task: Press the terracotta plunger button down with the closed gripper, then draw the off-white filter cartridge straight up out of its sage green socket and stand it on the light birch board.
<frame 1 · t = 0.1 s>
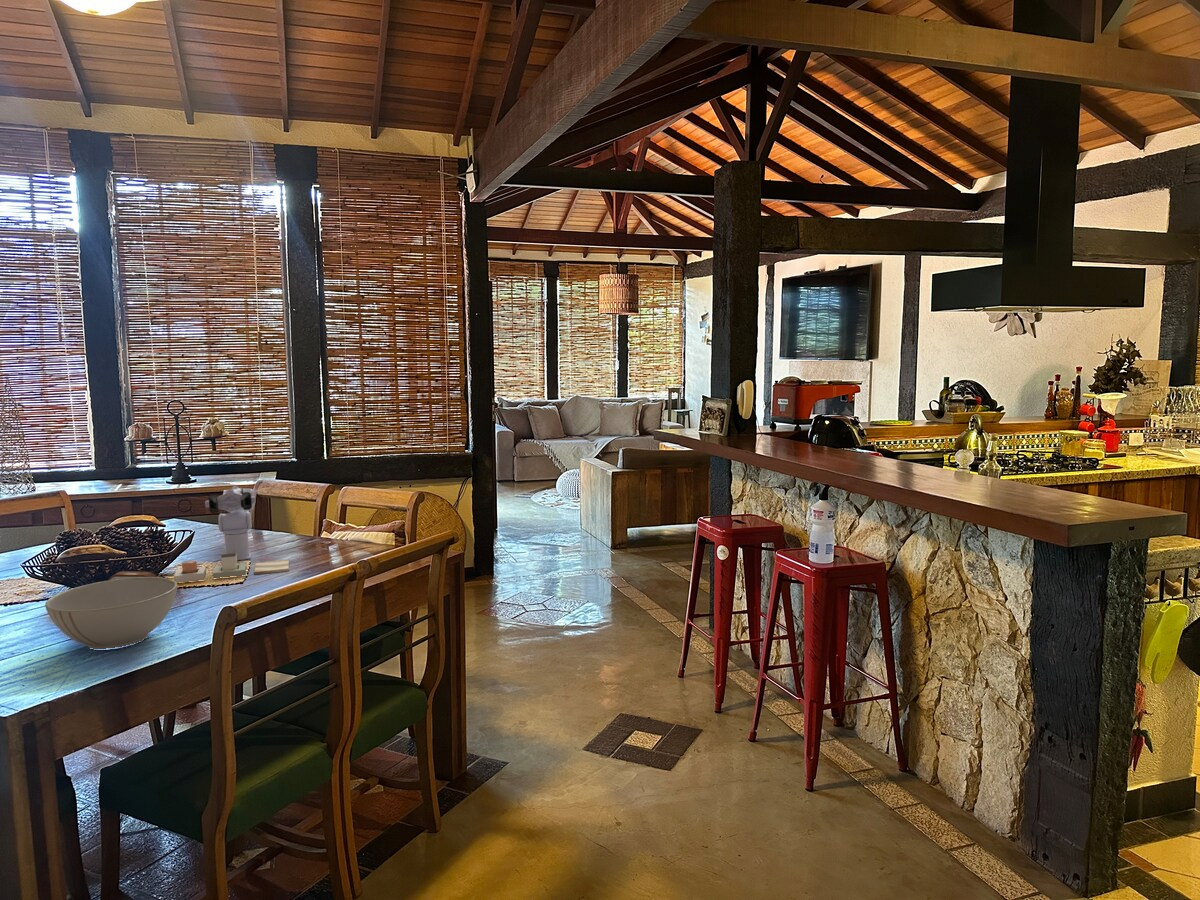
hand: (228, 504, 247), 22 cm above the table, tool horizontal, fingers open, 7 cm apart
decorative bowl: (118, 642, 190), on the table
plunger housing: (190, 579, 242), on the table
cartridge: (229, 563, 247), in the socket
plunger button: (189, 567, 242), point 4 cm above the table, slide at 0.0 cm
birch board: (272, 568, 253), on the table
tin: (135, 602, 221), on the table
socket: (230, 574, 247), on the table
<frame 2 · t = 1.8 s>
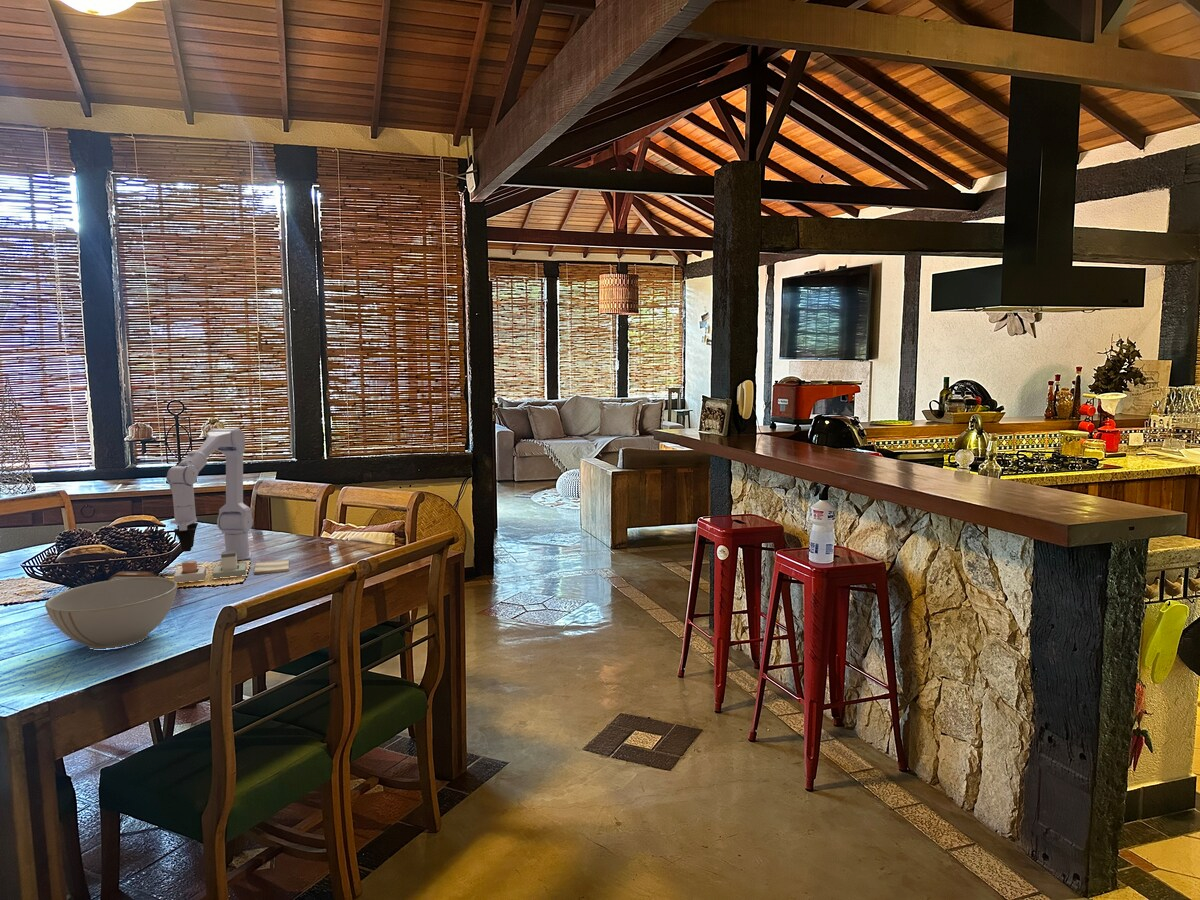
hand: (188, 549, 241), 9 cm above the table, tool pointing down, fingers open, 5 cm apart
nothing on the table moved.
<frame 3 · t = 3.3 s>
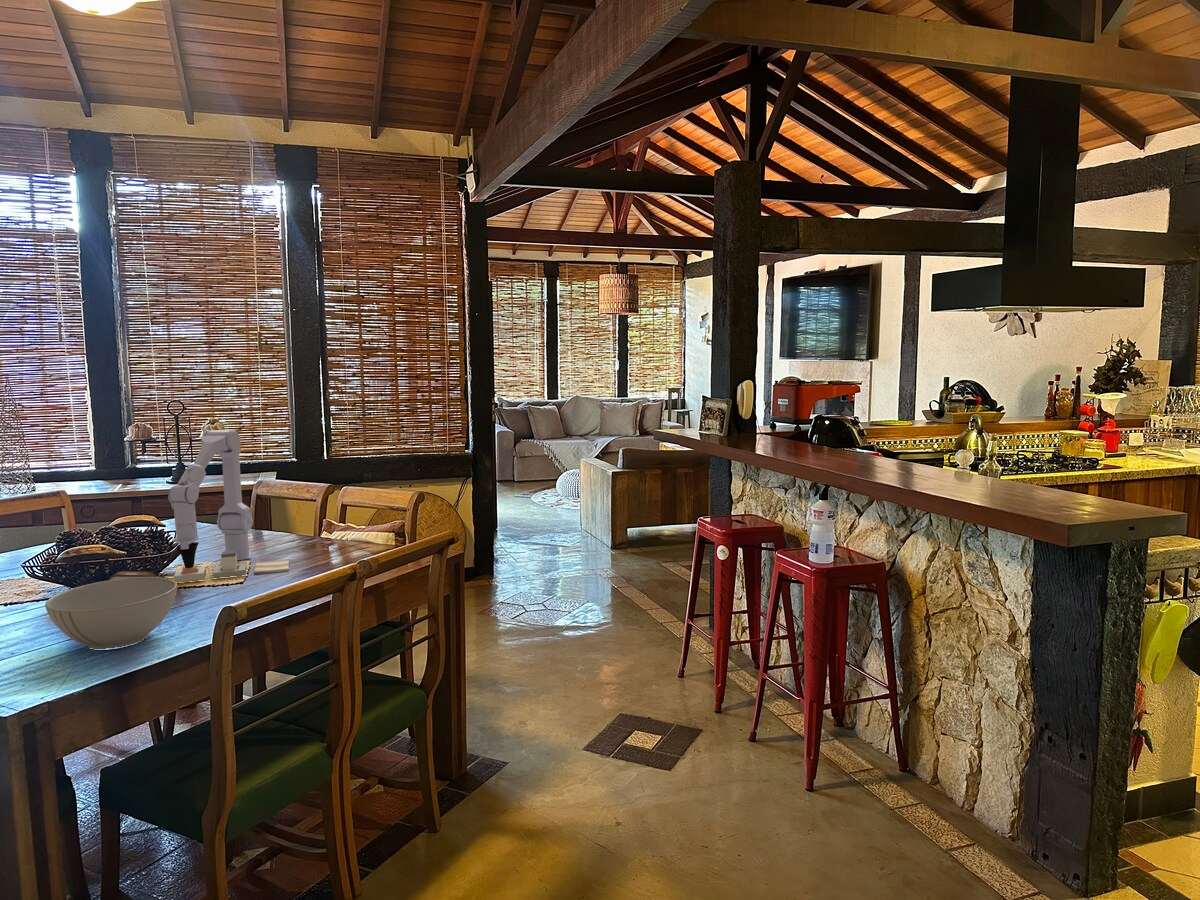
hand: (189, 567, 242), 4 cm above the table, tool pointing down, fingers closed, pressing on plunger button
plunger button: (190, 572, 242), point 2 cm above the table, slide at 1.5 cm, touching gripper
everything else where it was.
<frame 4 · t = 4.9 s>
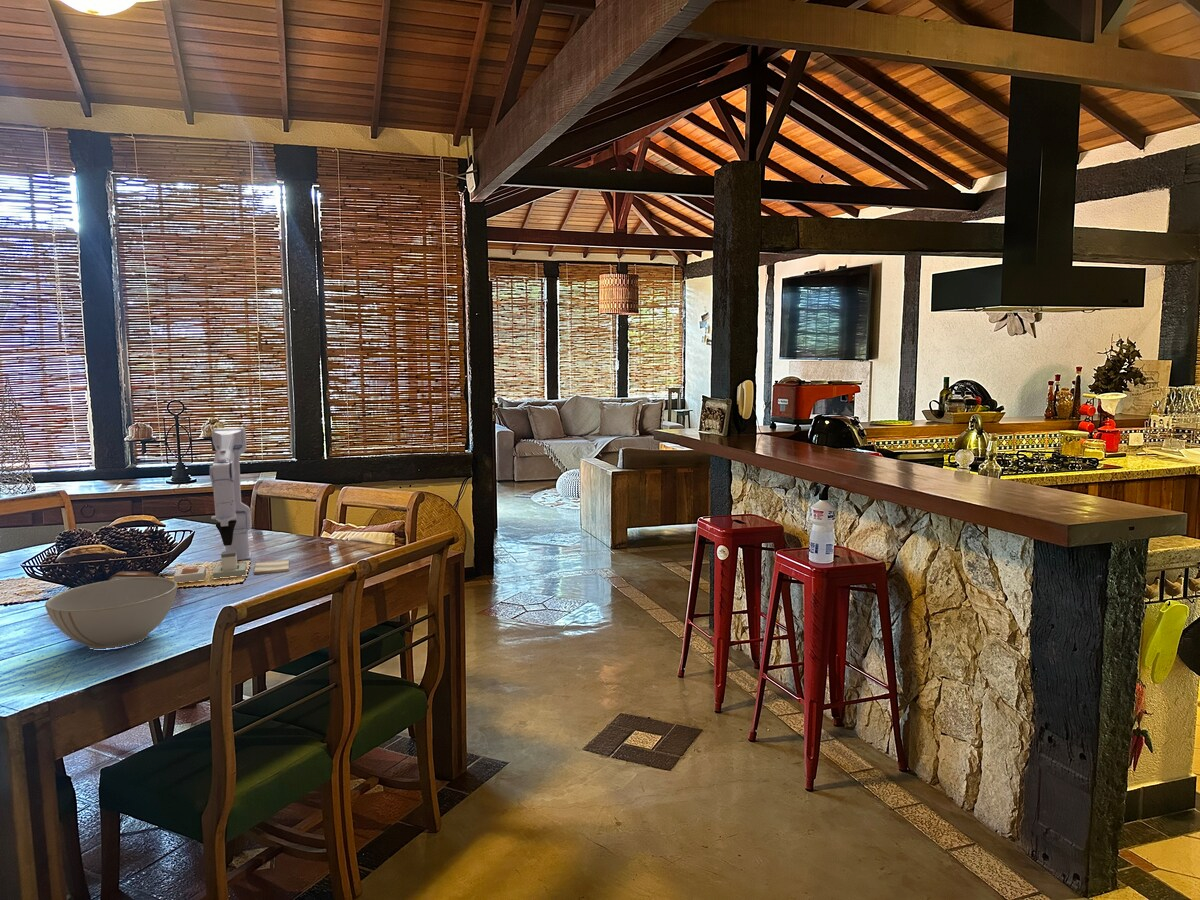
hand: (228, 544, 246), 9 cm above the table, tool pointing down, fingers closed
plunger button: (190, 573, 242), point 2 cm above the table, slide at 1.8 cm
everything else where it was.
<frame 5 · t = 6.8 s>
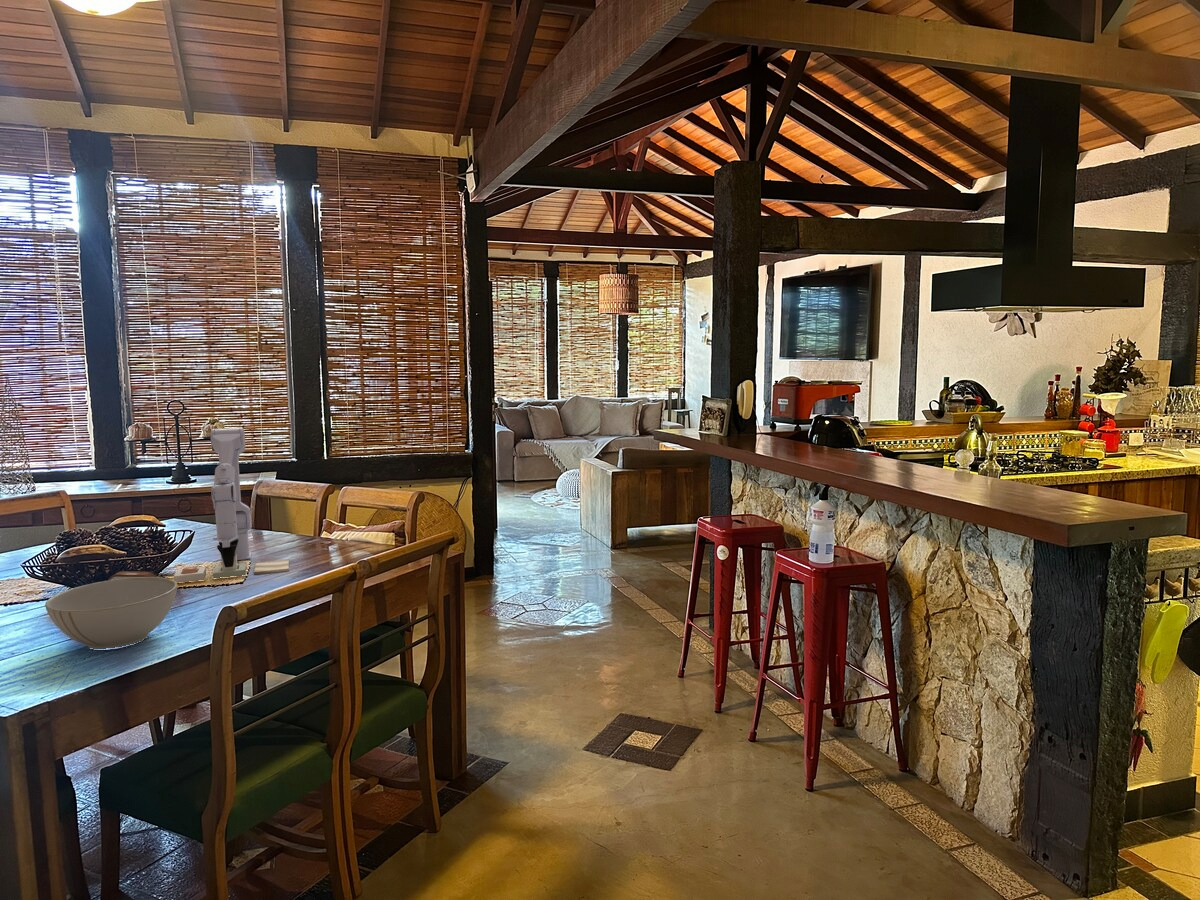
hand: (229, 565, 247), 3 cm above the table, tool pointing down, fingers closed on cartridge, 4 cm apart
cartridge: (229, 563, 247), in the socket, touching gripper
everything else where it was.
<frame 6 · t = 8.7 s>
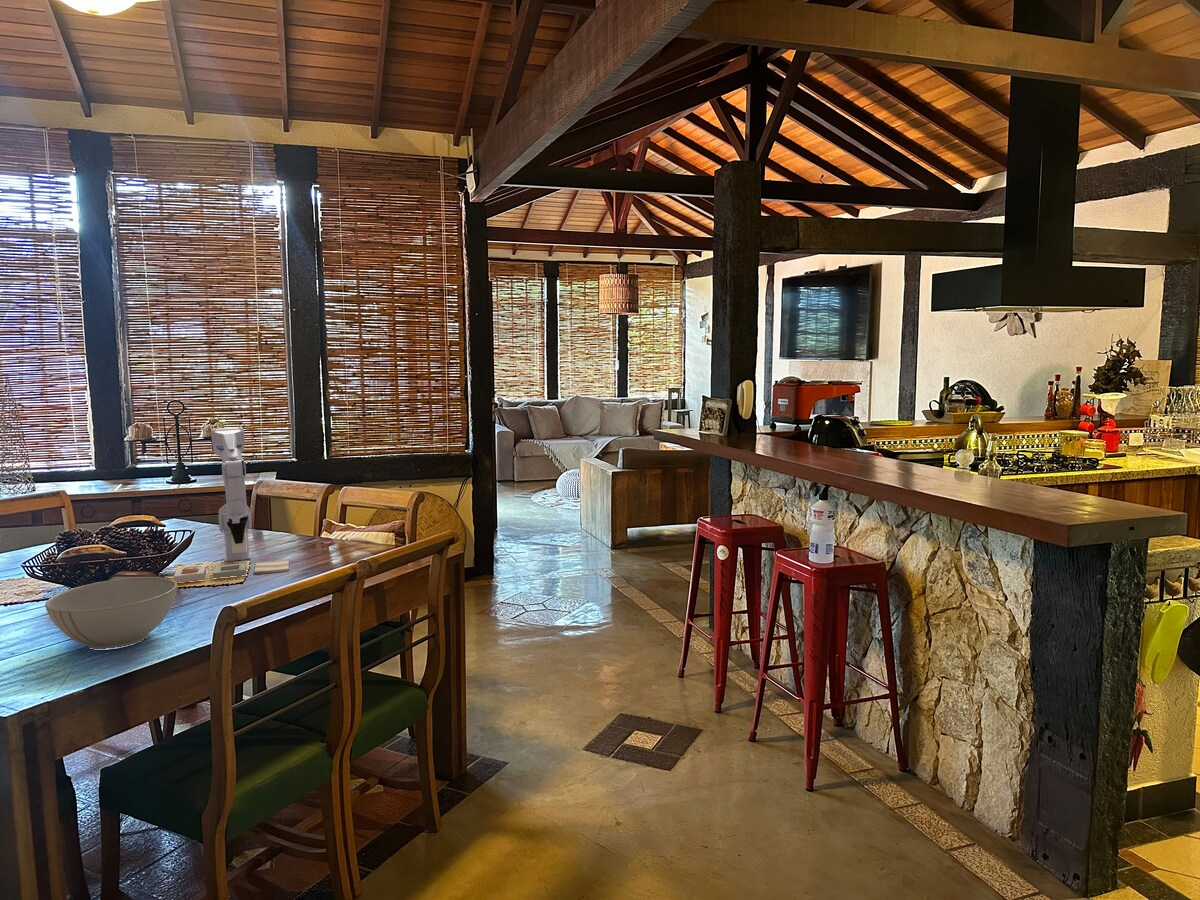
hand: (239, 541, 248), 10 cm above the table, tool pointing down, fingers closed on cartridge, 4 cm apart
cartridge: (239, 540, 248), point 10 cm above the table, touching gripper
everything else where it was.
when the fingers open (5 cm above the table, at t = 10.5 s): cartridge drops 1 cm, resting on birch board.
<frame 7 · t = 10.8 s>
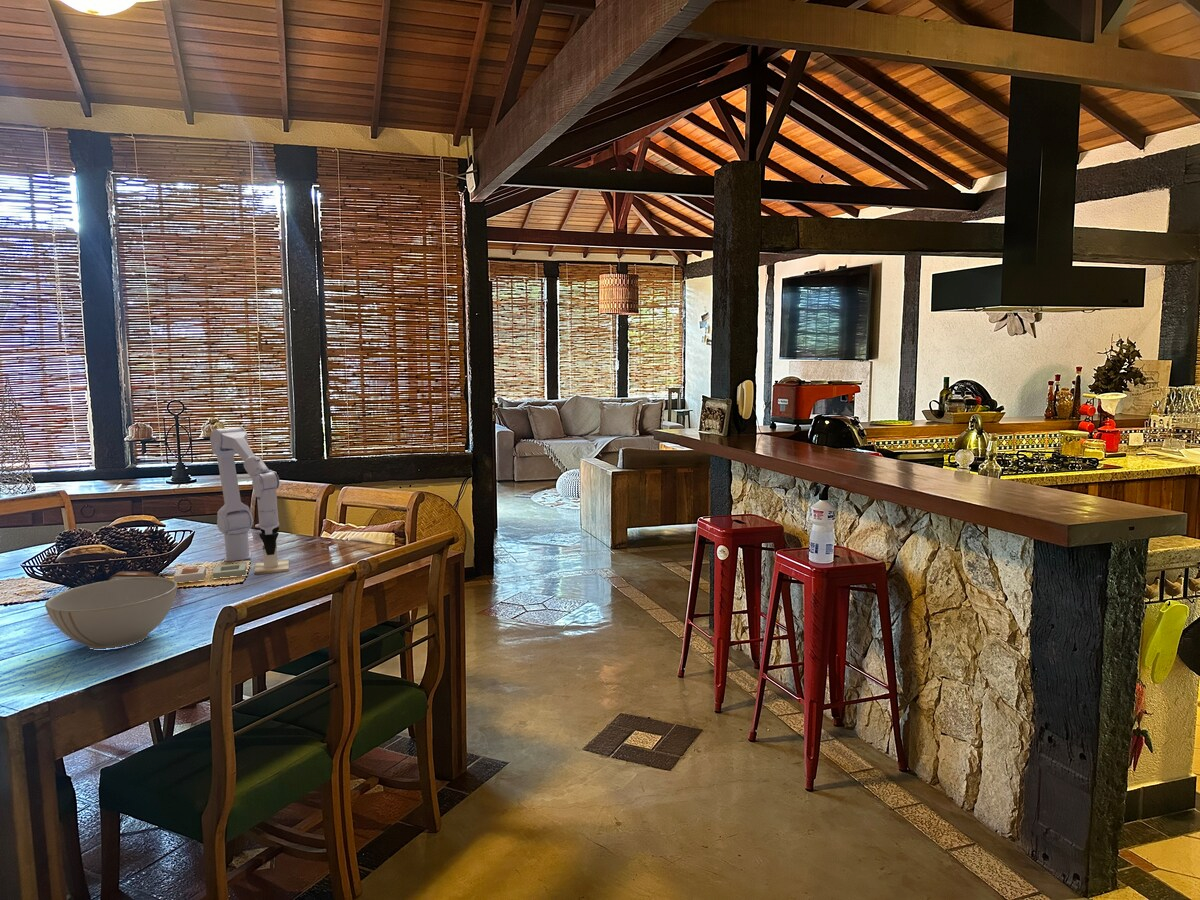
hand: (270, 552, 253), 5 cm above the table, tool pointing down, fingers open, 6 cm apart
cartridge: (270, 555, 253), on the birch board, point 4 cm above the table
everything else where it was.
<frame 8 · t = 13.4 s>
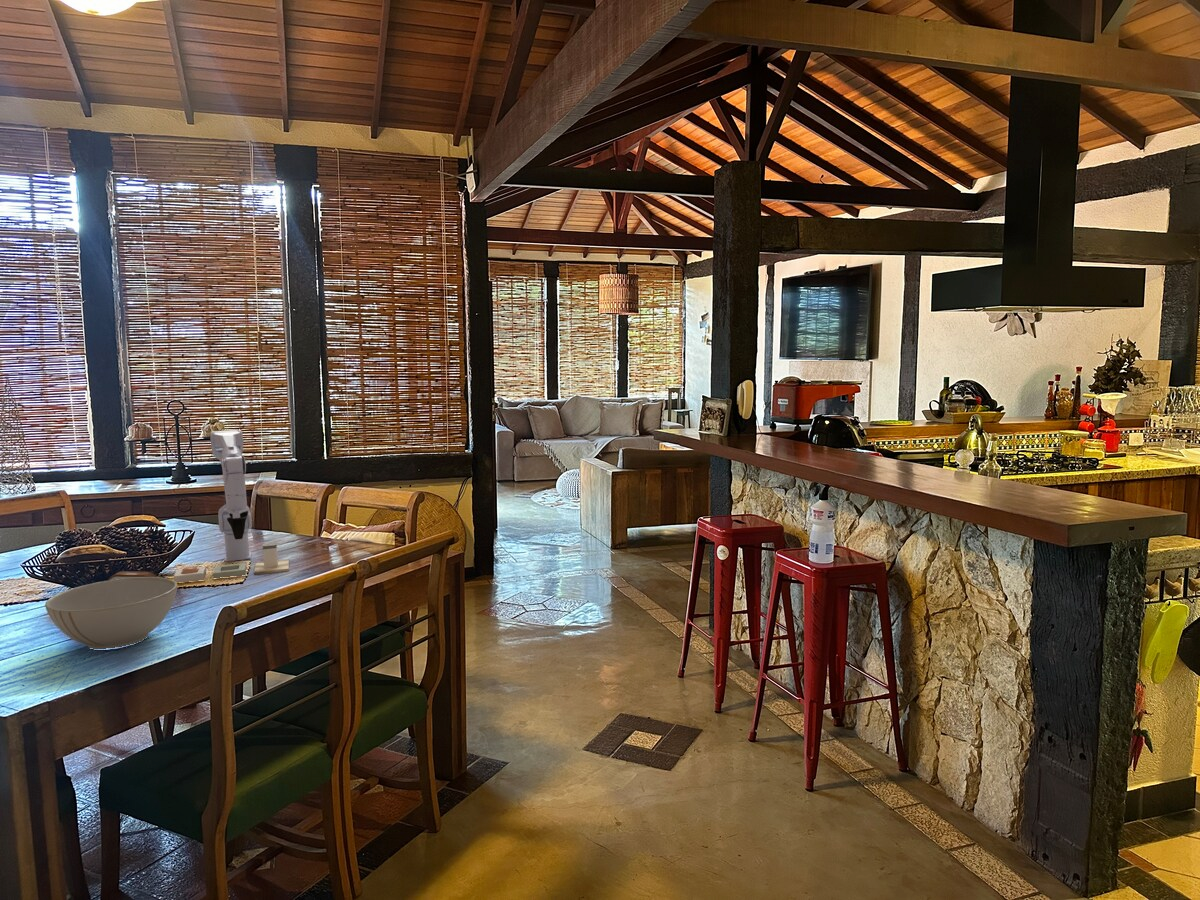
hand: (239, 536, 252), 10 cm above the table, tool pointing down, fingers open, 7 cm apart
nothing on the table moved.
at the end: plunger button slide at 1.8 cm; cartridge inside the target area on the birch board (0.2 cm from its centre), point 4.3 cm above the birch board's base; cartridge tilted 0° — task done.
